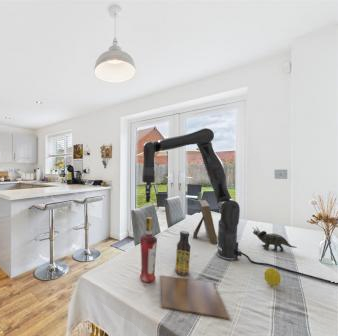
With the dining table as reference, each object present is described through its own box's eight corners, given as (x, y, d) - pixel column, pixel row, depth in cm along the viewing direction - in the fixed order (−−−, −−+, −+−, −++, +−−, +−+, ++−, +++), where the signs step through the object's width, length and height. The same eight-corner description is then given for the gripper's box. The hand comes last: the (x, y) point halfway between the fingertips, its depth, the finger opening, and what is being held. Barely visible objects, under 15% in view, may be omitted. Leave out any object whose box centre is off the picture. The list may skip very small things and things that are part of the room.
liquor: (144, 273, 93) (146, 214, 92) (158, 279, 88) (160, 217, 87) (136, 280, 87) (137, 218, 86) (150, 286, 83) (152, 221, 82)
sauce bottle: (174, 274, 92) (176, 233, 92) (175, 267, 98) (176, 228, 97) (189, 277, 90) (191, 235, 89) (189, 270, 96) (190, 230, 95)
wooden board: (212, 284, 85) (212, 282, 85) (229, 319, 66) (229, 317, 66) (161, 276, 90) (161, 275, 90) (162, 307, 71) (162, 306, 71)
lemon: (275, 291, 81) (276, 272, 81) (261, 283, 86) (261, 266, 86) (283, 288, 83) (283, 269, 83) (268, 281, 89) (269, 263, 88)
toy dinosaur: (296, 253, 118) (297, 234, 117) (296, 257, 111) (297, 238, 111) (252, 242, 133) (253, 226, 132) (250, 246, 126) (251, 228, 126)
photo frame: (212, 233, 149) (213, 200, 148) (217, 244, 128) (219, 206, 128) (191, 230, 154) (192, 199, 153) (193, 240, 133) (194, 204, 132)
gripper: (154, 175, 112) (154, 203, 112) (155, 174, 126) (154, 199, 126) (141, 175, 114) (141, 202, 114) (143, 173, 127) (142, 198, 128)
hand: (148, 200), depth 120 cm, fingers open, 8 cm apart
